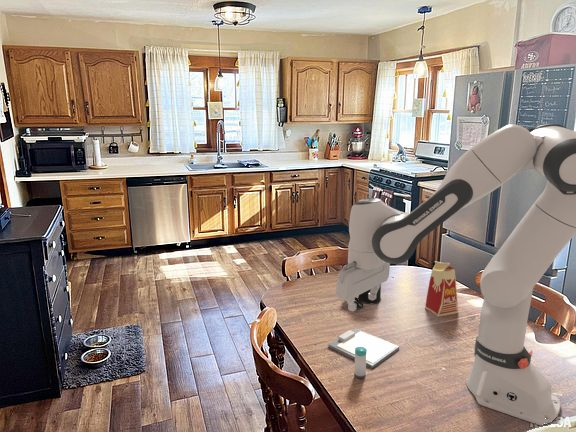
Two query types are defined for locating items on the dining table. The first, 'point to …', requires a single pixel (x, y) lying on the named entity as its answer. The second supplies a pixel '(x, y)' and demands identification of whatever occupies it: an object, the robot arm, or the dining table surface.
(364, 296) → the milk frother
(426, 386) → the dining table surface
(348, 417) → the dining table surface
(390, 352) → the clipboard
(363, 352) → the glue stick
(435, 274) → the milk carton
